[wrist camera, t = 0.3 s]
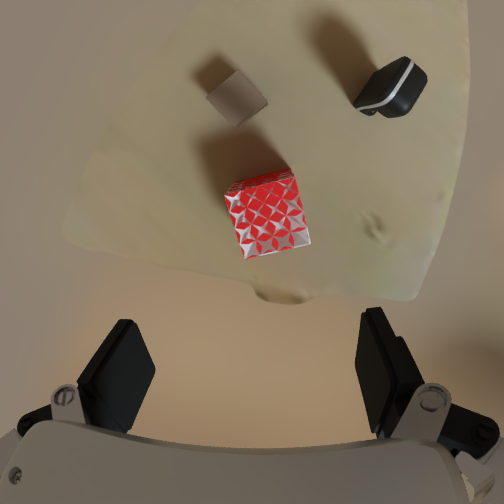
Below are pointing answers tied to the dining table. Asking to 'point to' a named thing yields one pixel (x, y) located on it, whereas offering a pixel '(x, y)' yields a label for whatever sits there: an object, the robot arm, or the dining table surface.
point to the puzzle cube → (267, 214)
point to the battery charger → (392, 89)
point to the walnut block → (237, 99)
